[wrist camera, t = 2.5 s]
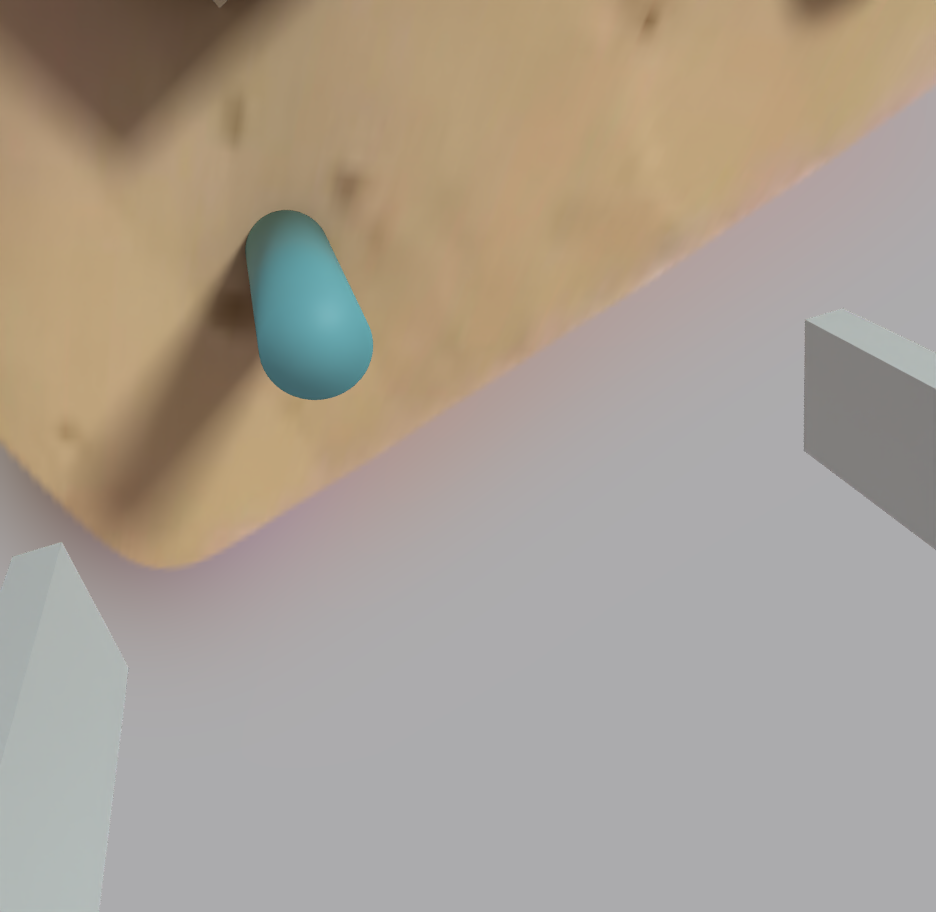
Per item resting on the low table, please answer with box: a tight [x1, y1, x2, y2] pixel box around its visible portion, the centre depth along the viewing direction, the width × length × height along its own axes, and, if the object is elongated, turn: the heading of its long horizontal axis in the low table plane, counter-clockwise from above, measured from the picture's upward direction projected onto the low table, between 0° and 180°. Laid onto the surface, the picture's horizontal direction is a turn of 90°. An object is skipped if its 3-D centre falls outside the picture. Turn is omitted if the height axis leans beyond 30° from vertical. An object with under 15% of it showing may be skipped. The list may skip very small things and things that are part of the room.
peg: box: [246, 210, 373, 400], centre depth 27 cm, size 3×3×10 cm
